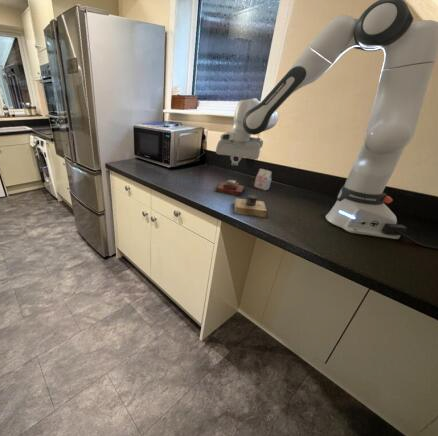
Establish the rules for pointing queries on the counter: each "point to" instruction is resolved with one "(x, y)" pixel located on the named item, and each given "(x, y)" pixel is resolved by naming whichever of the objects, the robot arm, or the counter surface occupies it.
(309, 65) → the robot arm
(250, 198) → the volume dial
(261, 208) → the volume panel
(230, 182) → the key
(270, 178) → the small white box
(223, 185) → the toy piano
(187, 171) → the counter surface
